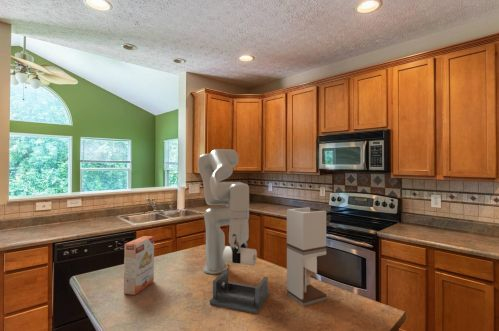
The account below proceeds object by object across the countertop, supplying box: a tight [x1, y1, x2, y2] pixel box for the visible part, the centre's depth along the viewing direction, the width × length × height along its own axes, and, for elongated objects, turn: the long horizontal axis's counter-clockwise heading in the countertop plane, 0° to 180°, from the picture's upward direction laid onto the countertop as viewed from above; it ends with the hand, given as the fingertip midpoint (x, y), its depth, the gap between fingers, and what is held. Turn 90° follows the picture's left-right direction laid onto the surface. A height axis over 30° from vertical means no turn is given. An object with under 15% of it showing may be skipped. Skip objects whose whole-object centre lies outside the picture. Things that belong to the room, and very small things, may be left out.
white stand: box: [286, 206, 327, 307], centre depth 110 cm, size 11×11×35 cm
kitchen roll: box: [223, 245, 258, 266], centre depth 108 cm, size 6×12×6 cm, turn 69°
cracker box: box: [123, 235, 155, 296], centre depth 119 cm, size 14×6×21 cm, turn 168°
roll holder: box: [209, 270, 271, 315], centre depth 108 cm, size 16×19×8 cm
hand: (239, 259), depth 108 cm, fingers closed on kitchen roll, 6 cm apart
